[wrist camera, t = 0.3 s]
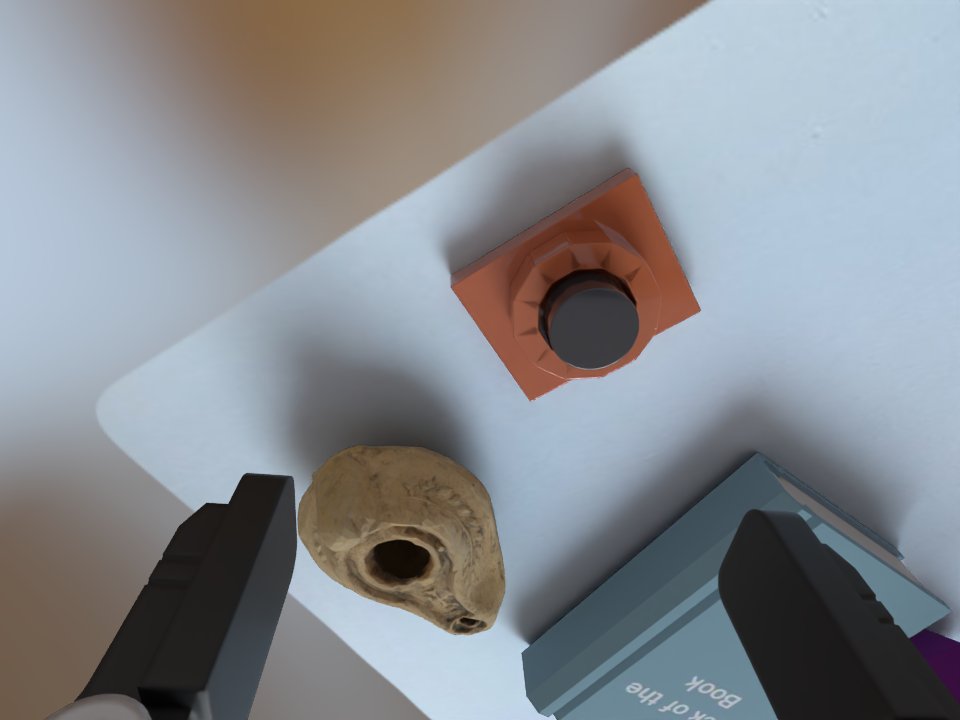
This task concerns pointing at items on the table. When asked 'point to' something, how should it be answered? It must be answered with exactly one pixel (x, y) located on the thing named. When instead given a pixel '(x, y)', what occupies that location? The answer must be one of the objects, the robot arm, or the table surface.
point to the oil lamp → (407, 534)
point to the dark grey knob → (590, 321)
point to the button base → (567, 252)
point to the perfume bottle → (941, 658)
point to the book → (697, 613)
